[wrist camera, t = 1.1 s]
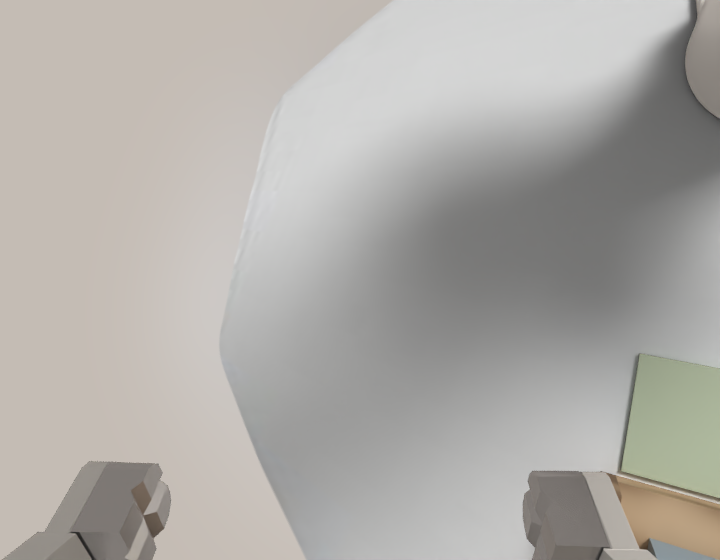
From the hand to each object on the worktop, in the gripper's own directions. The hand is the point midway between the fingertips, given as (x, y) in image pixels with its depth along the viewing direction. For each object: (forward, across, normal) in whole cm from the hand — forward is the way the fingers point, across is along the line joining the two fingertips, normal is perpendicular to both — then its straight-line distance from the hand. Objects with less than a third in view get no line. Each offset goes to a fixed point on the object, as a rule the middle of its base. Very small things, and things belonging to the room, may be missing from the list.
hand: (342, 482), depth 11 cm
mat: (+22, -26, +24) cm, 42 cm away
